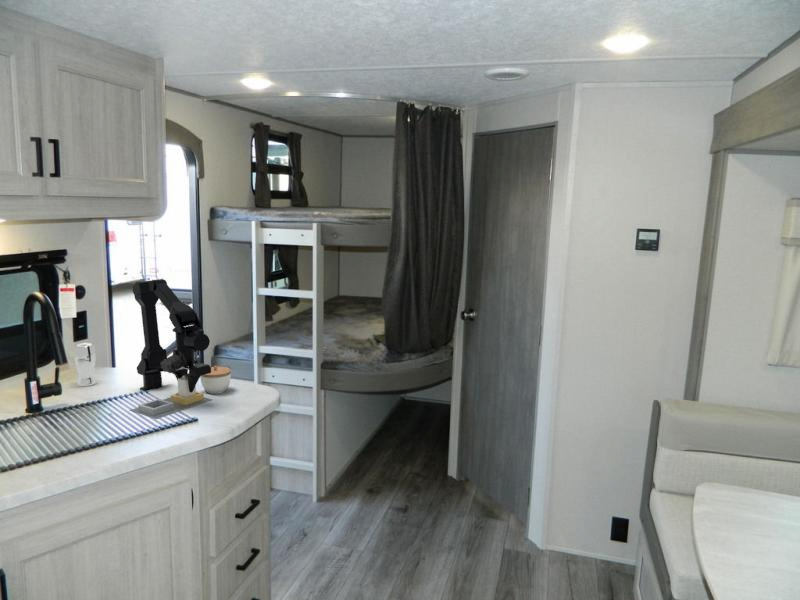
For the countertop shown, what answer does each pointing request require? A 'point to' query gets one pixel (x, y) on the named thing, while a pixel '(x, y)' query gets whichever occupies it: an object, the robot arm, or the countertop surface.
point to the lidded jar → (216, 380)
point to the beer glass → (85, 363)
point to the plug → (184, 387)
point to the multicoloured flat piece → (169, 405)
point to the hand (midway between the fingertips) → (187, 390)
